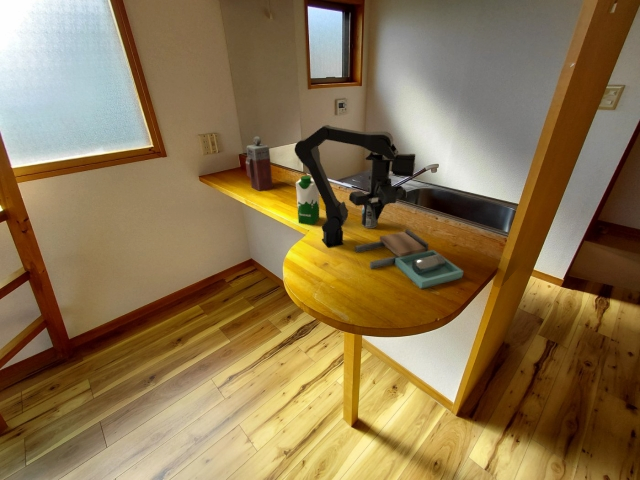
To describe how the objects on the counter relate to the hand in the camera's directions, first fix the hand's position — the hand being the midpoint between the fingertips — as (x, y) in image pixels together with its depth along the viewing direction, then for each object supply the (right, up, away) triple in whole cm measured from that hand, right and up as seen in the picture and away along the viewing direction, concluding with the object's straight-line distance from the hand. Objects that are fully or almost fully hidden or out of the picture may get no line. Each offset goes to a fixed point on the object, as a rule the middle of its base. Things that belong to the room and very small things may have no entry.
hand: (376, 219), depth 102 cm
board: (+10, -11, +4) cm, 15 cm away
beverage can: (+1, -1, +23) cm, 23 cm away
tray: (+15, -17, -7) cm, 24 cm away
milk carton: (-24, +1, +28) cm, 37 cm away
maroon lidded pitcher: (-53, +22, +68) cm, 89 cm away
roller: (+15, -15, -8) cm, 23 cm away
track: (+5, -12, +3) cm, 13 cm away
